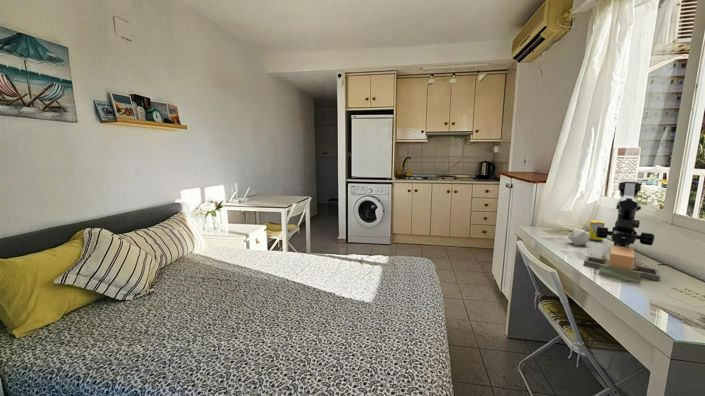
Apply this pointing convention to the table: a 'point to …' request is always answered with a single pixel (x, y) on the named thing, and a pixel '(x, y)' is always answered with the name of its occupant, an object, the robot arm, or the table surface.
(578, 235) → the die
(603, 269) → the small wooden bench
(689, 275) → the table surface
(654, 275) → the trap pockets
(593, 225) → the supplement box
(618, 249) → the orange tan rectangular block
